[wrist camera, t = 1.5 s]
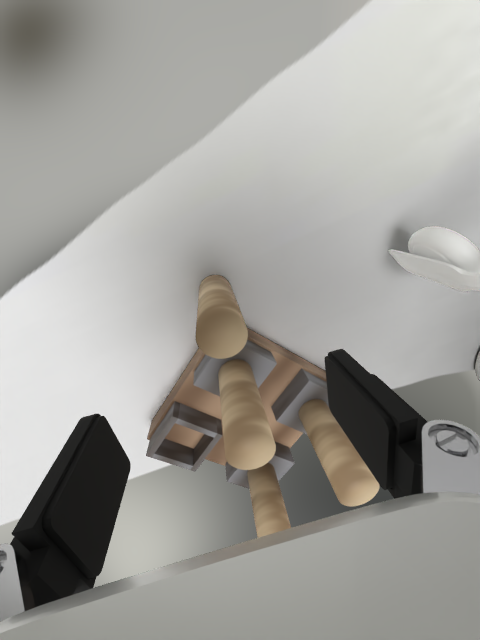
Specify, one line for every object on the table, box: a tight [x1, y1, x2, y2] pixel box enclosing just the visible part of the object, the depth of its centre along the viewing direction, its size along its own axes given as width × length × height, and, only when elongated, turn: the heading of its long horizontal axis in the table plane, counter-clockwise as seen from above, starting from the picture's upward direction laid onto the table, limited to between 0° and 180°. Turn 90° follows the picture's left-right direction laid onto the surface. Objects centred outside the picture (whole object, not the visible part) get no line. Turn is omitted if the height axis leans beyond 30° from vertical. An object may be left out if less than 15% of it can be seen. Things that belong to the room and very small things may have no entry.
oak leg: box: [196, 275, 248, 359], centre depth 23 cm, size 4×4×12 cm
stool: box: [146, 328, 379, 538], centre depth 27 cm, size 18×18×15 cm
